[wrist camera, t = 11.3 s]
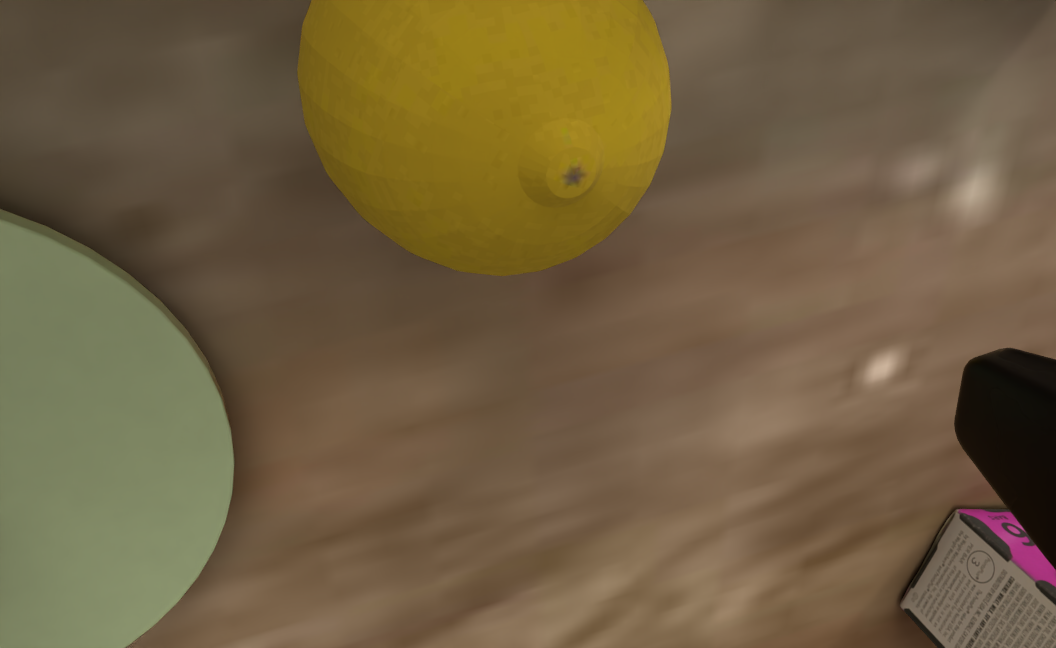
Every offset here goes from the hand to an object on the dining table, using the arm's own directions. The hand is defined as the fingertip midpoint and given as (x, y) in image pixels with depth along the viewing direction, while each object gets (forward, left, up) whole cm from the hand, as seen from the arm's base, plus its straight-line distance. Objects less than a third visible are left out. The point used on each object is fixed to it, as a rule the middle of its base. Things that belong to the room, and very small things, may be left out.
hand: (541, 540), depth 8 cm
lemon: (-1, -2, -13) cm, 13 cm away
